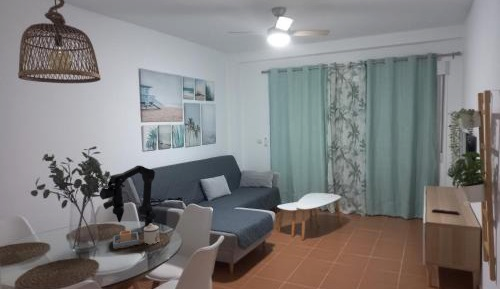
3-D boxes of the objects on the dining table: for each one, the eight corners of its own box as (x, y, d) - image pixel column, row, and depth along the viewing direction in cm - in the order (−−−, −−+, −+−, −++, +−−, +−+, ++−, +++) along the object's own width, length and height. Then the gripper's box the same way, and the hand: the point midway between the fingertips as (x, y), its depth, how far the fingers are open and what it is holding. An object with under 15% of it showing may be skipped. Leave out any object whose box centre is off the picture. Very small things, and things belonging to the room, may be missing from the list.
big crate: (114, 241, 206) (113, 235, 206) (138, 237, 211) (137, 231, 211) (113, 250, 193) (113, 244, 193) (139, 245, 198) (138, 239, 198)
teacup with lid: (158, 244, 198) (157, 225, 197) (143, 246, 197) (141, 227, 196) (161, 237, 210) (160, 219, 209) (146, 238, 209) (145, 220, 208)
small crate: (120, 241, 204) (120, 231, 203) (131, 239, 206) (130, 230, 205) (120, 244, 198) (120, 235, 198) (131, 243, 200) (130, 233, 200)
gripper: (104, 193, 213) (106, 217, 215) (102, 200, 196) (104, 226, 198) (122, 191, 217) (124, 214, 219) (122, 198, 200) (124, 223, 201)
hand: (119, 219), depth 209 cm, fingers open, 9 cm apart
